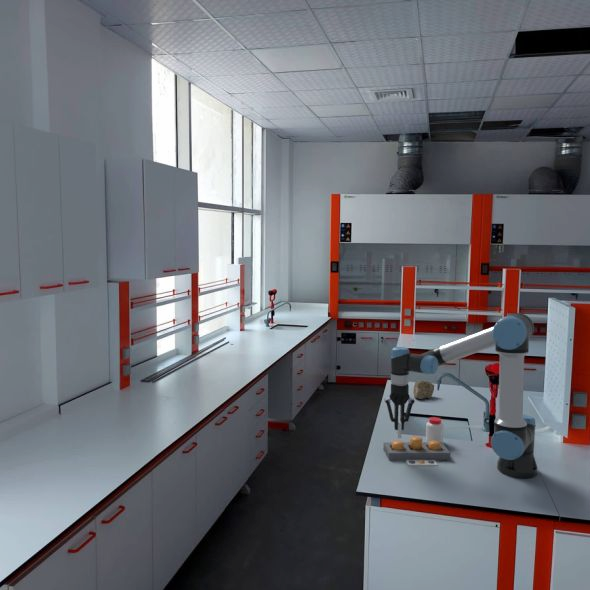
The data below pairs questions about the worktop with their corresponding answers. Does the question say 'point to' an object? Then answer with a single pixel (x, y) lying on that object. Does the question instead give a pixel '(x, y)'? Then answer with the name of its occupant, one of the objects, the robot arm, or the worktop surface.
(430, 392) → the rock
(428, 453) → the board
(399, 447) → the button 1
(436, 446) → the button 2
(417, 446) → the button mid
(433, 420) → the pill bottle
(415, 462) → the pattern card
